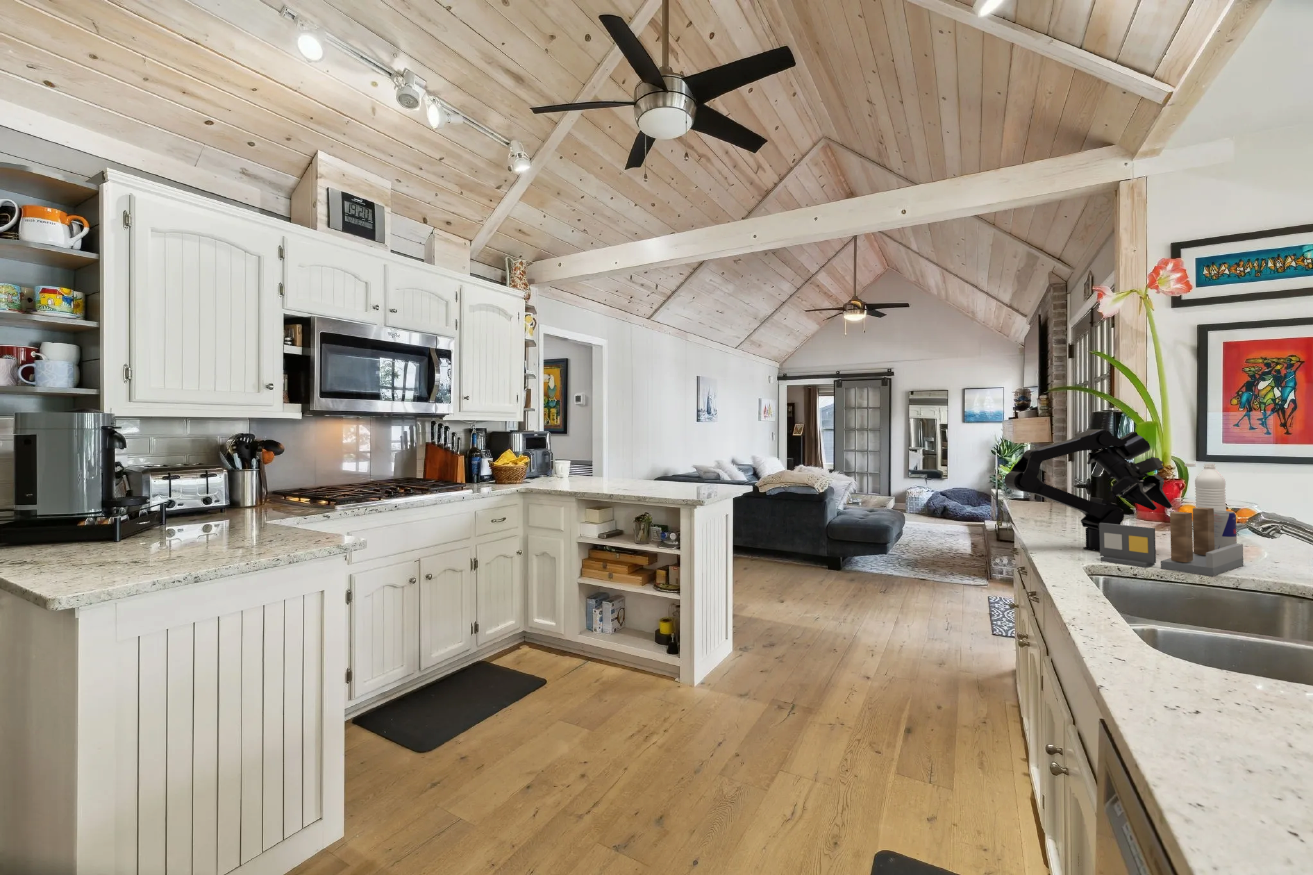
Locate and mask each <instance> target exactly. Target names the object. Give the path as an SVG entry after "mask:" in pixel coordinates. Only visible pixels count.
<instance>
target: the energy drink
mask: <svg viewBox="0 0 1313 875" xmlns="http://www.w3.org/2000/svg"><path fill="white" fill-rule="evenodd" d="M1237 532H1238V531H1237V515H1236V512H1235V511H1229V510H1226V511H1214V544H1215V550H1217V549H1220V548H1223V547H1226V546H1230V545H1233V544H1236V543H1237V542H1238V540H1237V539H1238V536H1237ZM1237 544H1238V543H1237Z"/></svg>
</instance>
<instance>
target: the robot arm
mask: <svg viewBox="0 0 1313 875" xmlns="http://www.w3.org/2000/svg"><path fill="white" fill-rule="evenodd" d="M1095 450H1096V452H1088V454H1087V461H1086V464H1087V465H1091V464H1093V463H1097V465H1099V466H1100V467H1101V468H1102V469H1103V470H1104V471H1106V473H1107V477H1109V479H1114V480H1115V481H1116V482H1115V483H1114V484H1113V485H1111V486H1110V492H1111V493H1112V494H1113V495H1114V496H1116V497H1119V498H1120V499H1124V500H1126V501H1130V502H1132V503H1135V504H1136V505H1139V506H1142V507H1143V508H1146V509H1148V510H1152V511H1156V510H1157V509H1158V507H1157V505H1156V504H1155V503H1157V504H1158V505H1160V506H1162V507H1163V508H1166V509H1172V507H1173V505H1172V503H1171V502H1170V500H1169V499H1168V497H1167V495H1166V494H1165V492H1164V490H1163V487H1164V484H1165V482H1164V481H1165V479H1164V478H1163V477H1162V476H1160V475H1159V474H1149V473H1152V472H1154V471H1155V472H1156V471H1158V470H1159V471H1161V470H1163V469H1165V467H1164V466H1163V464H1164V461H1163V460H1161V458H1159V457H1154V456H1151V457H1149V458H1145V459H1144V460H1141V461H1138V462H1136V463H1135V462H1134V461H1133V462H1129V461H1131V460H1133V459H1135V458H1138V457H1139V456H1140V455H1144V454H1145V453H1147V452H1149V451H1150V450H1151V444H1150V442H1149V441H1148V440H1146V439H1145V438H1144V437H1143V436H1141V435H1140V434H1138V432H1137V431H1130V432H1128V433H1127V434H1125V435H1123V436H1121V437H1117V436H1115V435H1113V434H1112V433H1111V432H1110V431H1109V430H1107V429H1105V428H1104V429H1103V428H1101V429H1087V430H1084V431H1083V432H1081V433H1078V434H1076V435H1075V436H1074V437H1072V438H1070V439H1067V440H1063V441H1059V442H1055V443H1052V444H1048V445H1045V446H1041V447H1040V446H1039V447H1038V448H1033V449H1028V450H1025V451H1024V453H1023V454H1022V455H1021V457H1020V459H1019V460H1018V461H1016V462H1015V463H1014V465H1013V466H1012V468H1011V469H1010V471H1008V472H1007V473H1006V474H1005V476H1004V478H1003V481H1004V484H1005V487H1006V488H1008V489H1009V490H1010V489H1011V490H1014V491H1019V492H1024V493H1028V494H1035V495H1037V496H1038V497H1039V496H1040V497H1042V498H1045V499H1047V500H1049V501H1052V502H1055V503H1057V504H1060V505H1063V506H1066V507H1069V508H1071V509H1074V510H1076V511H1079V512H1081V513H1082V514H1083V515H1084V517H1083V518H1081V519H1080V523H1081V525H1082V527H1084V528H1085V546H1083V548H1082V549H1084V550H1090V551H1097V552H1100V533H1099V523H1108V524H1118V525H1122V524H1121V523H1123V521H1124V518H1125V513H1124V509H1122V508H1121V507H1120V506H1119V504H1118V503H1113V502H1110V501H1108V500H1107V499H1104V498H1099V497H1092V496H1091V497H1090V499H1086V498H1084V497H1081V496H1078V495H1075V494H1073V493H1071V492H1068V491H1065V490H1062V489H1060V488H1057V487H1055V486H1053V485H1049V484H1047V483H1045V482H1044V481H1042V480H1041V479H1040V478H1038V476H1039V473H1040V469H1041V464H1042V463H1043V462H1044V461H1049V460H1052V459H1056V458H1059V457H1062V456H1067V455H1069V454H1074V453H1078V452H1082V451H1084V452H1085V451H1095ZM1097 450H1098V451H1097Z"/></svg>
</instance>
